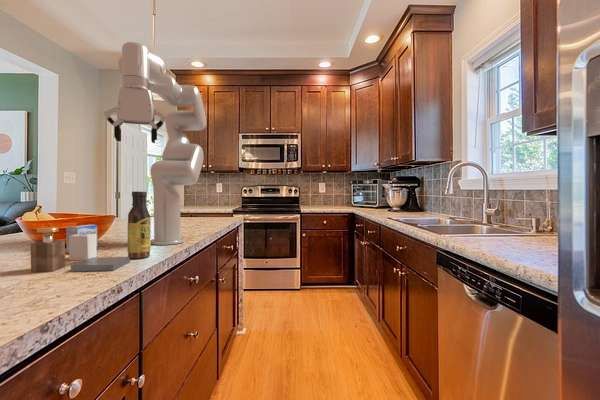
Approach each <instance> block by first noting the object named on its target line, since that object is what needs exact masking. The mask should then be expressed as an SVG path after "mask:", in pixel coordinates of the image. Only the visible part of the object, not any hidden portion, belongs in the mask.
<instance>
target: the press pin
mask: <svg viewBox="0 0 600 400" xmlns="http://www.w3.org/2000/svg"><path fill="white" fill-rule="evenodd" d="M59 229H60V227H57V226H55V227H54V226H50V227H38V228H36V233H37V234H42V241H43V243H51V242H53V241H54V233H57V232H58V233H59V231H60V230H59Z"/></svg>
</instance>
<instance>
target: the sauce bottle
mask: <svg viewBox="0 0 600 400" xmlns="http://www.w3.org/2000/svg"><path fill="white" fill-rule="evenodd" d="M147 196H148V195H147V191H138V190H137V191H131V197H132V204H131V205H132V206H131V208H130V211H129V212H128V215H127V253H128V254H127V257H130V260H132V259H133V260H134V259H135V260H136V259H145V258H146V259H147V258H149V257H150V255H151V249H152V247H151V245H152V244H151V240H152V239H151V237H152V236H151V235H152V233H151V231H152V230H151V221H152V220H151V215H150V212H149V209H148V207H147Z"/></svg>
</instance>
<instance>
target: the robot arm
mask: <svg viewBox="0 0 600 400" xmlns="http://www.w3.org/2000/svg"><path fill="white" fill-rule="evenodd" d="M117 68H118V70H119V72H120V74H121V86H120V87H119V90H118V95H117V104H116V106H114V107H113V108H110V109H108V110H105V111H104V112H103V115H104V116H105V118H106V120H107V121H108V122H109V123H110V124H111V126H113V129H114V131H113V132H114V133H113V135H114V136H113V137H114V139H116V141H117V142H121V141H122V128H121V126H122V125H123V124H130V125H149V126H151V127H152V128H151V130H150V138H151V139H150V140H151V143H152V144H155V143H156V141H158V131H159V129H160V128H162V126H163V125H164V124H165V129H166V134H167V139H168V140H167V142H166V144H165V147H164V149H163V152H162V155H161V159H162V160H159V161H155V162H154V163H153V164H151V166H150V178H151V183H152V190H153V191H152V192H153V194H152V195H153V239H151V245H156V246H158V245H159V246H167V245H168V246H169V245H177V244H178V245H179V244H182V243H185V242H186V241H185V238H184V237H181V196H180V194H179V192H178V191H177V189H176V188H175V187H174V186H194V185H196V183H197V182H198V181H199V177H200V174H201V172H202V171H201V170H202V168H203V164H204V159H205V158H204V150H203V148H202V147H201V146H200V145H199V144H196V143H190V140H189V137H188V136H187V135H186V134H185V133H184V132H183V131H185V132H186V131H189V132H190V131H195V132H196V131H204V130H205V129H206V127H207V117H206V111H205V107H204V102H203V98H202V95H201V92H200V90H199V89H198V86H196V85H193V84H191V85H189V84H179V83H178V82H177V81H176V80H175V79H174V77H173V76H172V75H171V74H168V73H167V65H166V63H165V61H164V60H163V58H162V57H160V56H159V55H157V54H155V53H154V52H152V51H150V50H149V49H148V47H147V46H146V45H144V44H142V43H139V42H134V41H128V42H125V43H123V45H122V47H121V55H120V57H119V58H118V60H117ZM153 94H155V95H157V96H158V97H160V98H161V99H162V100H163V101H164V102H165V103H166V104H168V105H169V106H171V107H179V108H180V107H181V108H182V107H191V108H193V110H171V111H169V112H168V113H166V114H165V115H164V113H161V112H159V111H157V110H155V101H154V95H153ZM114 114H116V117H117V119H115V120H114V119H113V117H112V115H114ZM155 116H156V117H158V118H159V121H158V122H156V121H155V119H156V118H155ZM155 122H156V123H155Z"/></svg>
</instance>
